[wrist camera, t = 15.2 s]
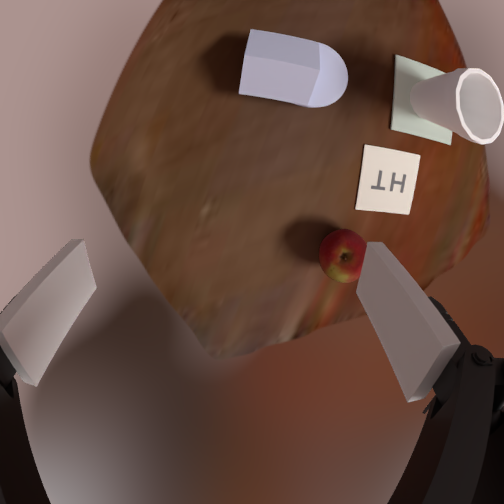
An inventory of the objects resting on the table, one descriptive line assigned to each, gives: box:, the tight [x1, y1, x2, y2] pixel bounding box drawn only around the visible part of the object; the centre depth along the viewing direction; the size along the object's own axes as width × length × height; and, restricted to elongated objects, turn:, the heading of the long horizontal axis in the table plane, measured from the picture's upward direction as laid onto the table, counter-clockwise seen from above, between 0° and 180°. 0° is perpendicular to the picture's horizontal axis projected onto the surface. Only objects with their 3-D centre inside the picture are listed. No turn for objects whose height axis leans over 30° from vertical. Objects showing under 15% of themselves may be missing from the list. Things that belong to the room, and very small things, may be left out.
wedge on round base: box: [239, 29, 348, 107], centre depth 29 cm, size 9×7×13 cm
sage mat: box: [390, 55, 452, 145], centre depth 33 cm, size 12×12×1 cm
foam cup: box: [410, 68, 504, 144], centre depth 27 cm, size 10×9×13 cm
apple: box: [319, 229, 367, 283], centre depth 41 cm, size 8×8×8 cm
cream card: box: [355, 144, 420, 214], centre depth 39 cm, size 10×10×1 cm
